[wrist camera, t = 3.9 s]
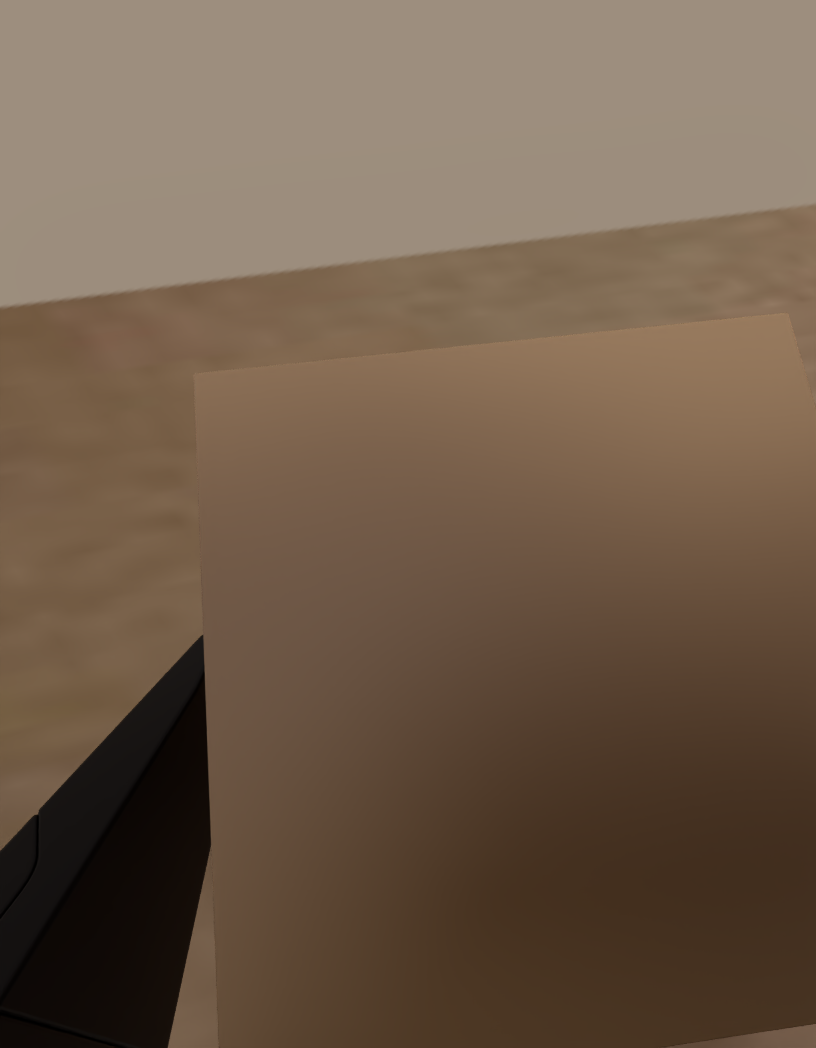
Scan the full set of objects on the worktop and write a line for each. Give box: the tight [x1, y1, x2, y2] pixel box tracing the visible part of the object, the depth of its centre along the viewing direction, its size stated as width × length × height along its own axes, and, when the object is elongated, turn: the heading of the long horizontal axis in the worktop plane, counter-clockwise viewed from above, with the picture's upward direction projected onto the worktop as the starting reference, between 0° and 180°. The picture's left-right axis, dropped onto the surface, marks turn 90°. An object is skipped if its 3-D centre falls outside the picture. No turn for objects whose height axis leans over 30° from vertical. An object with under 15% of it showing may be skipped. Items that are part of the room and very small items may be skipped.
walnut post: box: [194, 313, 816, 1048], centre depth 11 cm, size 5×5×15 cm
